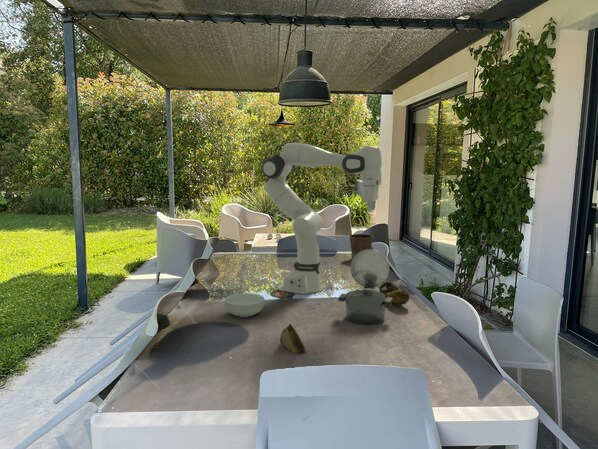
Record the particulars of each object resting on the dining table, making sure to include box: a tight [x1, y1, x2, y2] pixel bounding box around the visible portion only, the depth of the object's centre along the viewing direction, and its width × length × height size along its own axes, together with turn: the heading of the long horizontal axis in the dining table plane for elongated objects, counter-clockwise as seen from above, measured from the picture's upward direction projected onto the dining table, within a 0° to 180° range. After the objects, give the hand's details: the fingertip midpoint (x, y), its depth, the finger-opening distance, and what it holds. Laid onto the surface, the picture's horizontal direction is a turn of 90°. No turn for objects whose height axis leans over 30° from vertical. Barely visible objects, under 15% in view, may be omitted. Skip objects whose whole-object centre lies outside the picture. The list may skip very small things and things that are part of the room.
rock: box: [279, 323, 307, 354], centre depth 155 cm, size 11×9×10 cm
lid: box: [349, 248, 390, 290], centre depth 193 cm, size 17×17×3 cm
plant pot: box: [349, 233, 374, 260], centre depth 299 cm, size 16×16×16 cm
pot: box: [338, 288, 392, 326], centre depth 185 cm, size 21×17×10 cm
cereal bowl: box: [224, 292, 265, 318], centre depth 191 cm, size 17×17×7 cm
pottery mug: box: [379, 281, 400, 295], centre depth 216 cm, size 12×10×8 cm
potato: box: [385, 289, 410, 306], centre depth 201 cm, size 8×13×8 cm, turn 10°
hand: (371, 210), depth 209 cm, fingers open, 8 cm apart
